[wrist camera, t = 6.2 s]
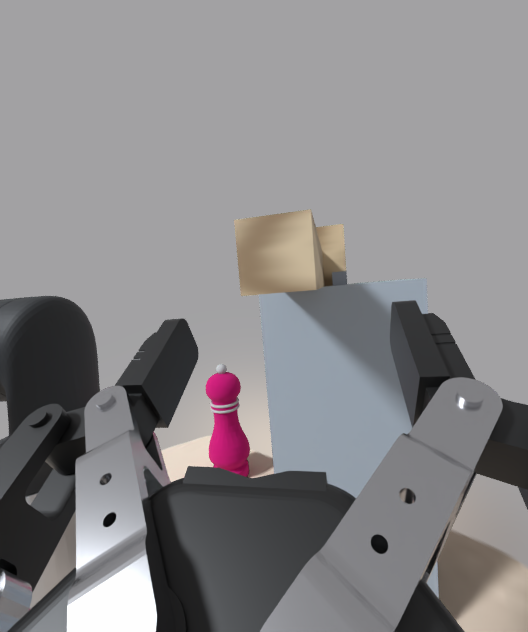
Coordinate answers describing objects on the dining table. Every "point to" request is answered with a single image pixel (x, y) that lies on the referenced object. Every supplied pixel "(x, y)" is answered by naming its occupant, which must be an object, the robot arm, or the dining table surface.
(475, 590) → the dining table surface
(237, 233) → the t key
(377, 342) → the stand
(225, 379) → the pepper mill
